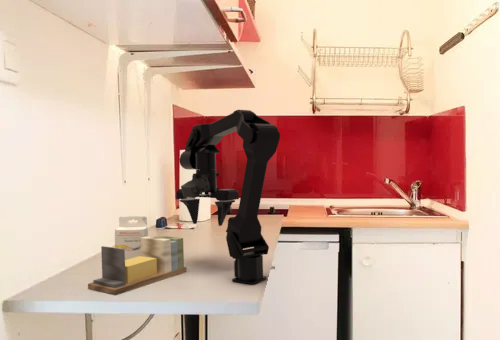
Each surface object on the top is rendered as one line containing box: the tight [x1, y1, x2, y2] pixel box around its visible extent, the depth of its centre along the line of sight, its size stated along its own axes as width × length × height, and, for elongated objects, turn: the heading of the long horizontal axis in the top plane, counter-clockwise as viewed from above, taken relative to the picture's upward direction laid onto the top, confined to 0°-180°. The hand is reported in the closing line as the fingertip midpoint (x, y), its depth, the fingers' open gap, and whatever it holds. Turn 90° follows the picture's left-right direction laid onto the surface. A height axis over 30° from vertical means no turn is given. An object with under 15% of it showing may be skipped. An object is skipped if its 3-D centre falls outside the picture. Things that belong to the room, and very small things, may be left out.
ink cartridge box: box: [114, 215, 149, 260], centre depth 125 cm, size 9×5×15 cm, turn 92°
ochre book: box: [125, 256, 157, 283], centre depth 111 cm, size 6×10×4 cm, turn 149°
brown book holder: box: [87, 235, 188, 296], centre depth 113 cm, size 10×24×10 cm, turn 146°
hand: (207, 224), depth 125 cm, fingers open, 9 cm apart
